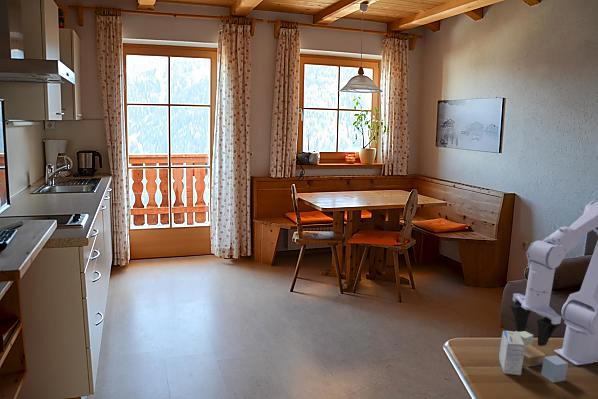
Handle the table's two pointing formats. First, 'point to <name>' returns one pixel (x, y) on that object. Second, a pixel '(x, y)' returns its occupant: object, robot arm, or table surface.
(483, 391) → the table surface
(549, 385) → the table surface
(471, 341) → the table surface
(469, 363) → the table surface
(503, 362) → the medicine box
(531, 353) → the tan square block
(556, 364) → the slate block
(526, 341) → the sage cube
